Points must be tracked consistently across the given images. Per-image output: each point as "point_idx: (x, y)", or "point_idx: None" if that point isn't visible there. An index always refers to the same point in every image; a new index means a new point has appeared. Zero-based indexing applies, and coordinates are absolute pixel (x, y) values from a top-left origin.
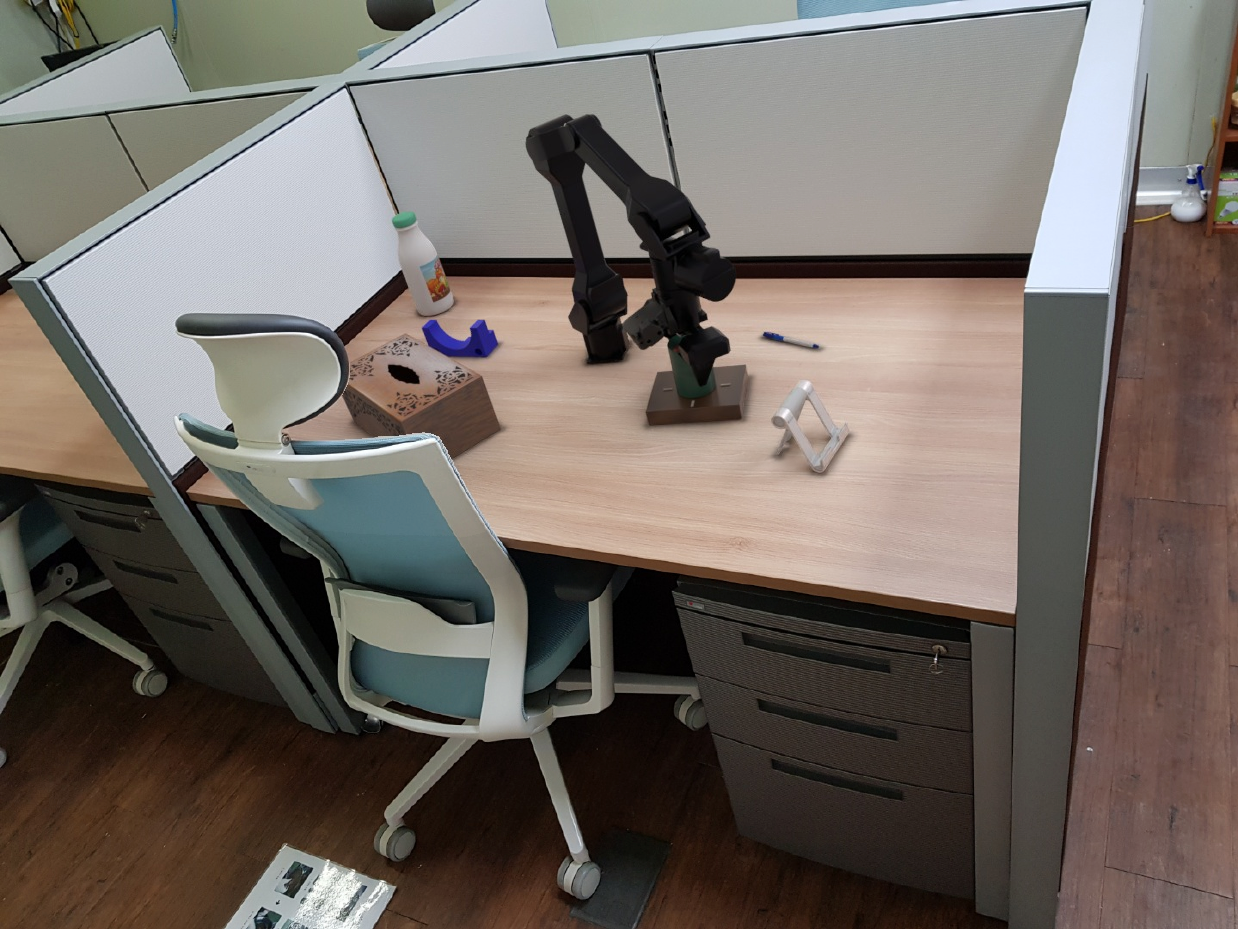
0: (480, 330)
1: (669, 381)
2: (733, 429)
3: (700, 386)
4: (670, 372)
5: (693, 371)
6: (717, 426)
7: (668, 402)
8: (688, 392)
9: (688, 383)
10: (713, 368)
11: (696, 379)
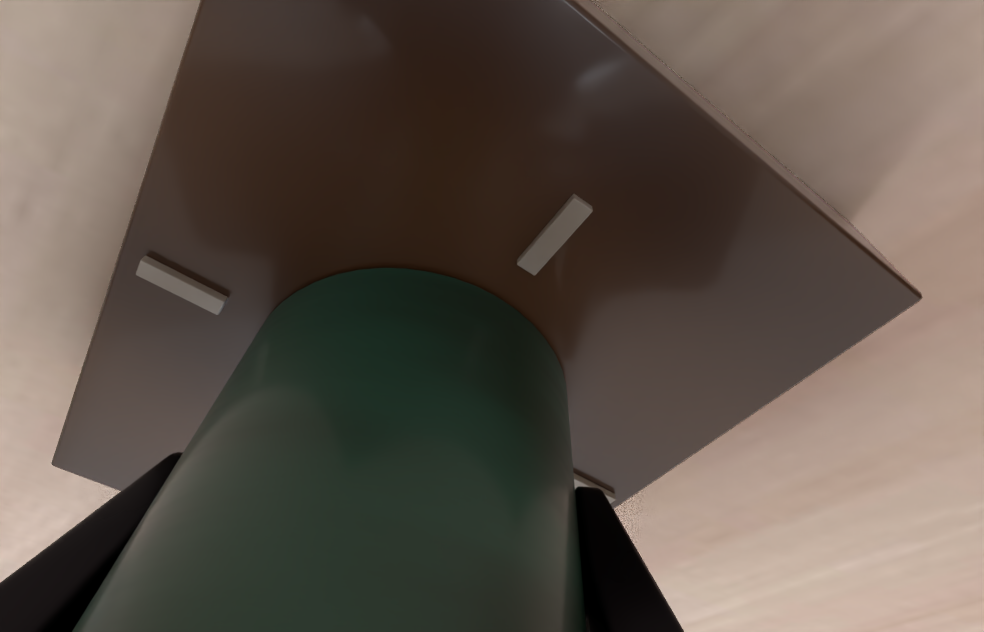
0: None
1: (669, 302)
2: (21, 319)
3: (171, 455)
4: (786, 365)
5: (4, 630)
6: (84, 271)
7: (325, 131)
8: (253, 342)
9: (199, 428)
10: None
11: (133, 513)
